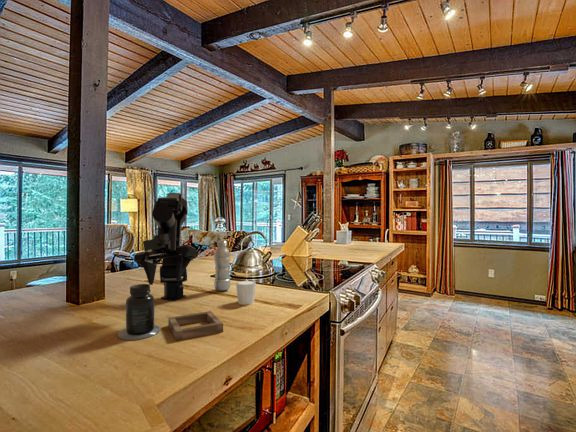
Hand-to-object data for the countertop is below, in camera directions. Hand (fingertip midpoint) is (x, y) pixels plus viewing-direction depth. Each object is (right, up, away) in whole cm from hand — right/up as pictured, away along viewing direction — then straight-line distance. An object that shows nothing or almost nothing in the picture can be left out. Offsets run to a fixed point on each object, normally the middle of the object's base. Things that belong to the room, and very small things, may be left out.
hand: (164, 282), depth 95 cm
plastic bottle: (+11, -10, +33) cm, 36 cm away
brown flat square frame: (+12, -11, -8) cm, 18 cm away
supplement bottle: (-2, -11, -11) cm, 16 cm away
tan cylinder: (+23, -11, +16) cm, 30 cm away
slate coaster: (-2, -11, -11) cm, 16 cm away
